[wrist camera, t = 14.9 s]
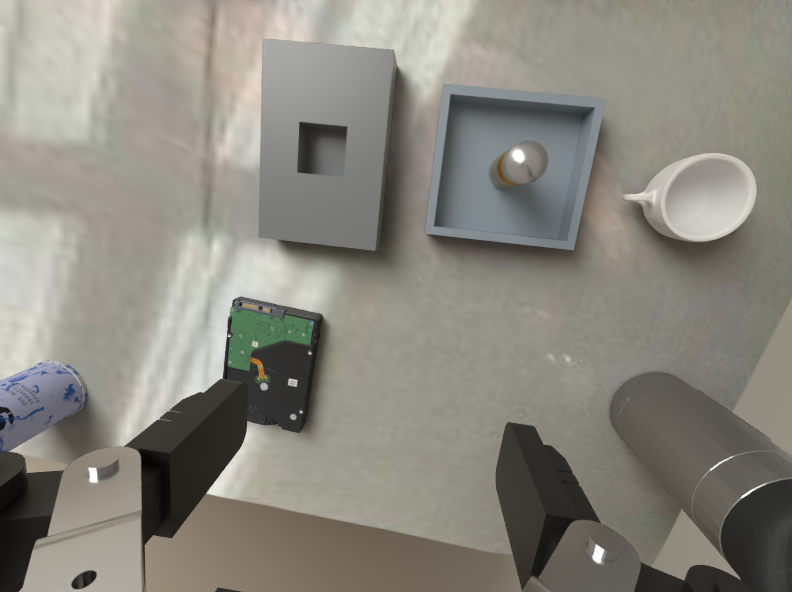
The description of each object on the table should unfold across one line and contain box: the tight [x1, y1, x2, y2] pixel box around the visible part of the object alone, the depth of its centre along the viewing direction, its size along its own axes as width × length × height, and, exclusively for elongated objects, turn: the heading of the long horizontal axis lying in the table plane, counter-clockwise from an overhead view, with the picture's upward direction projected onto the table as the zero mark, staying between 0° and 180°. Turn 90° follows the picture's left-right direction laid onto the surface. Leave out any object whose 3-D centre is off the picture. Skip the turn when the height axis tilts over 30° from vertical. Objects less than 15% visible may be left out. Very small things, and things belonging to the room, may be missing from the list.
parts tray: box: [425, 84, 606, 250], centre depth 38 cm, size 15×14×4 cm
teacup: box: [623, 153, 757, 242], centre depth 36 cm, size 10×8×5 cm
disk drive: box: [223, 297, 322, 433], centre depth 46 cm, size 10×3×15 cm
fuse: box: [488, 140, 548, 188], centre depth 34 cm, size 3×3×9 cm
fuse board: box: [259, 38, 397, 251], centre depth 38 cm, size 12×18×4 cm, turn 174°
